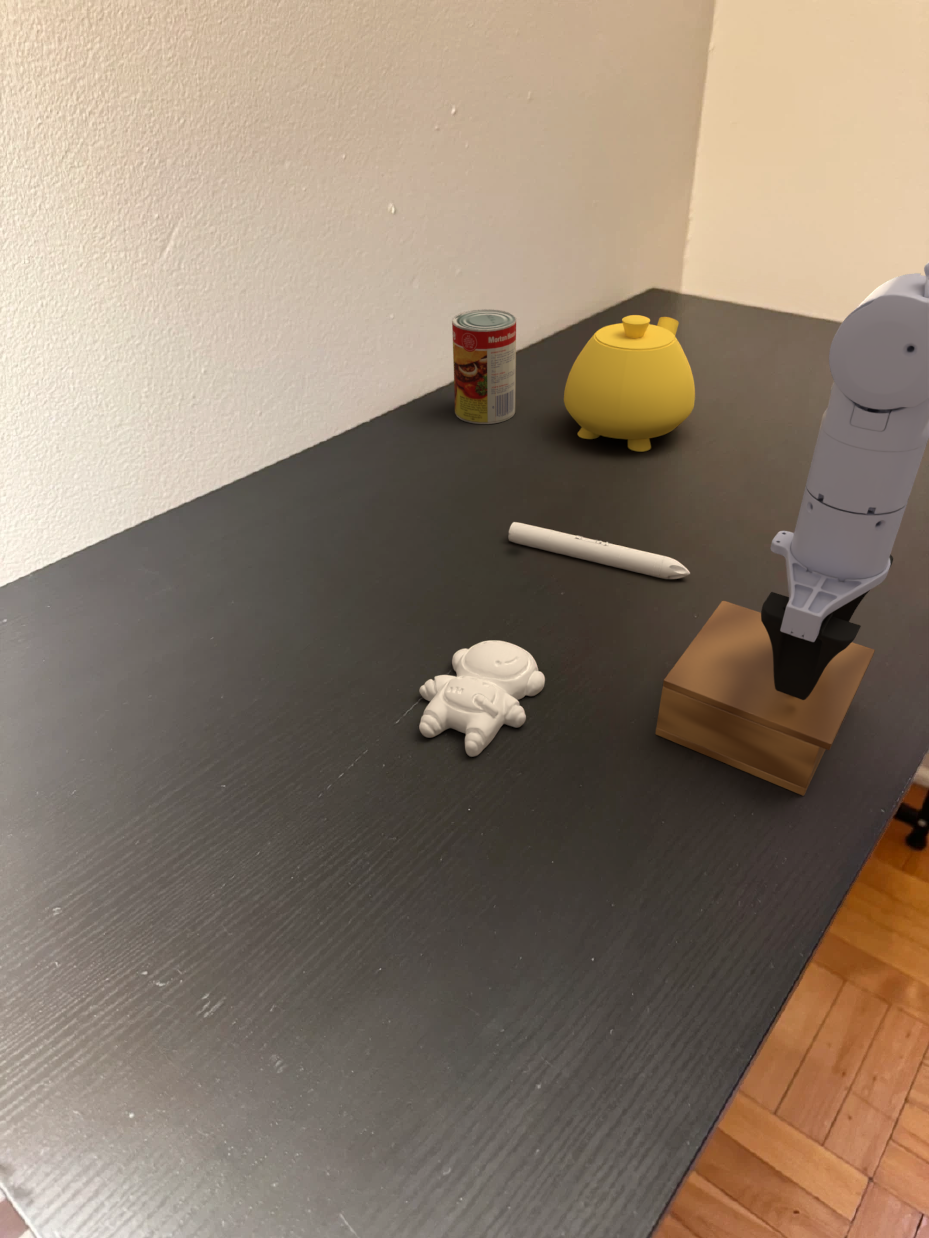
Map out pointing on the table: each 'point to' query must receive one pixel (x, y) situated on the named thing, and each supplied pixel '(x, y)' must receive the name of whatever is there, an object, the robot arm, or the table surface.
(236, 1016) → the table surface
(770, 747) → the keepsake box
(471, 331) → the canned food
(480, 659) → the astronaut figurine
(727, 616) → the brown piece
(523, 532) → the marker
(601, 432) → the teapot
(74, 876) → the table surface
